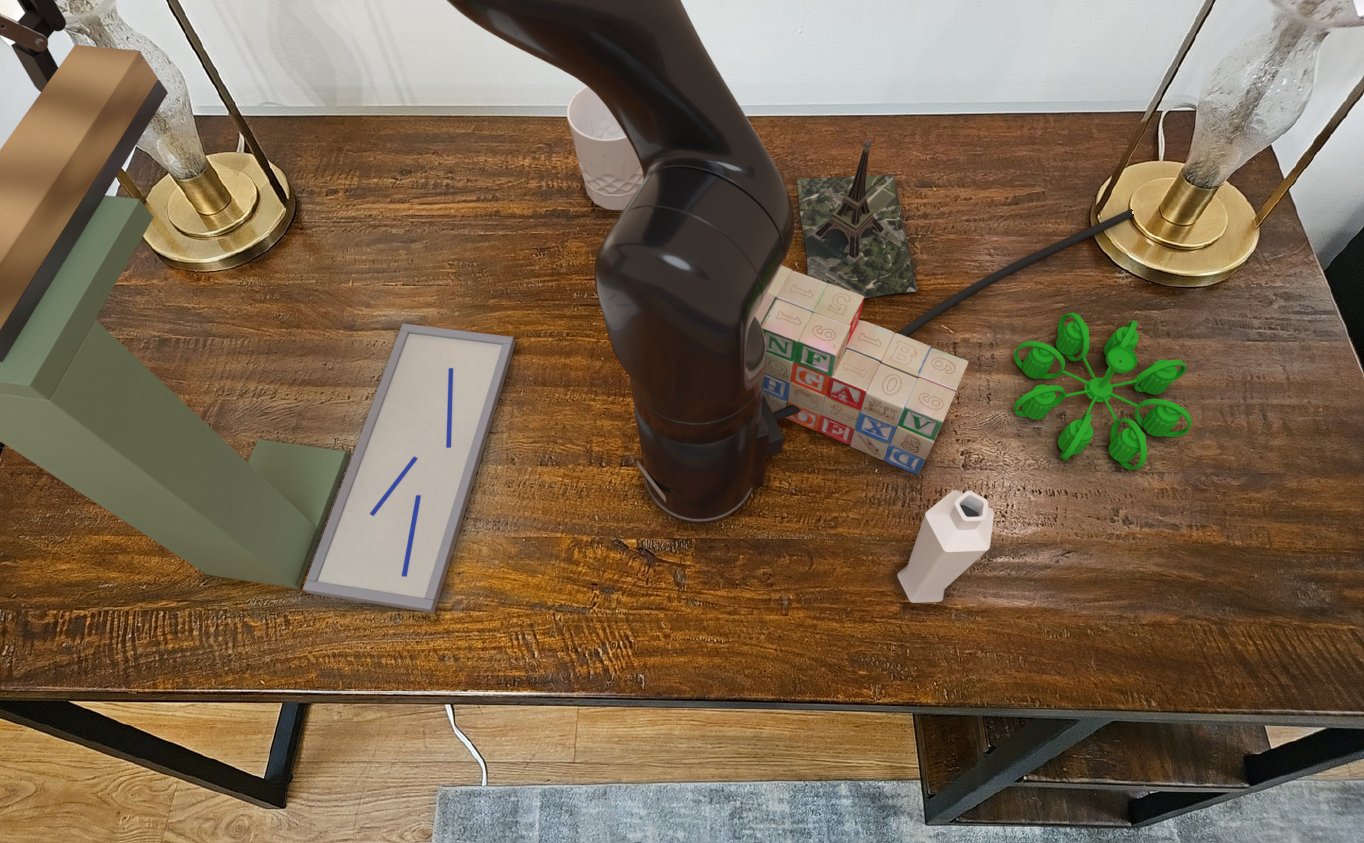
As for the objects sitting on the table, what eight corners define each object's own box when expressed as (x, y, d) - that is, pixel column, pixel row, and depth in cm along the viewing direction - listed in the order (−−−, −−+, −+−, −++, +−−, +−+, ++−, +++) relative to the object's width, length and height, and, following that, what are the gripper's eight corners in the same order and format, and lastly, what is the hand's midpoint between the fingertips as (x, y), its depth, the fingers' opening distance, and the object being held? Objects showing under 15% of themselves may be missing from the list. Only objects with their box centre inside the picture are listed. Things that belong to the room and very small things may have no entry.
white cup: (672, 175, 91) (668, 98, 82) (629, 227, 88) (620, 152, 79) (609, 147, 93) (598, 68, 84) (565, 196, 90) (549, 120, 81)
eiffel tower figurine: (919, 297, 83) (953, 197, 71) (810, 303, 83) (827, 205, 71) (892, 177, 90) (919, 68, 78) (792, 183, 90) (804, 75, 78)
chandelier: (1132, 315, 81) (1166, 267, 75) (1213, 459, 74) (1258, 419, 68) (976, 347, 80) (998, 301, 74) (1043, 496, 73) (1073, 459, 67)
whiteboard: (405, 329, 83) (402, 323, 82) (515, 343, 82) (513, 336, 81) (307, 593, 71) (302, 589, 70) (434, 613, 70) (430, 609, 69)
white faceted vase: (946, 551, 71) (1000, 471, 58) (956, 604, 69) (1014, 534, 56) (889, 553, 71) (929, 474, 58) (897, 607, 69) (941, 537, 56)
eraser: (106, 86, 53) (74, 43, 50) (168, 92, 52) (139, 49, 50) (-72, 353, 44) (-122, 318, 41) (2, 363, 44) (-44, 328, 41)
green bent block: (263, 444, 77) (6, 183, 49) (350, 456, 77) (139, 198, 48) (206, 574, 72) (-119, 365, 44) (299, 589, 71) (28, 385, 43)
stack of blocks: (943, 418, 77) (981, 339, 66) (917, 477, 74) (952, 405, 63) (721, 326, 82) (723, 239, 71) (690, 378, 79) (686, 296, 68)
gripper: (-242, -34, 45) (-56, 203, 59) (7, -139, 52) (122, 94, 66) (-337, -88, 46) (-134, 156, 60) (-82, -182, 54) (48, 54, 67)
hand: (0, 123), depth 63 cm, fingers open, 8 cm apart
